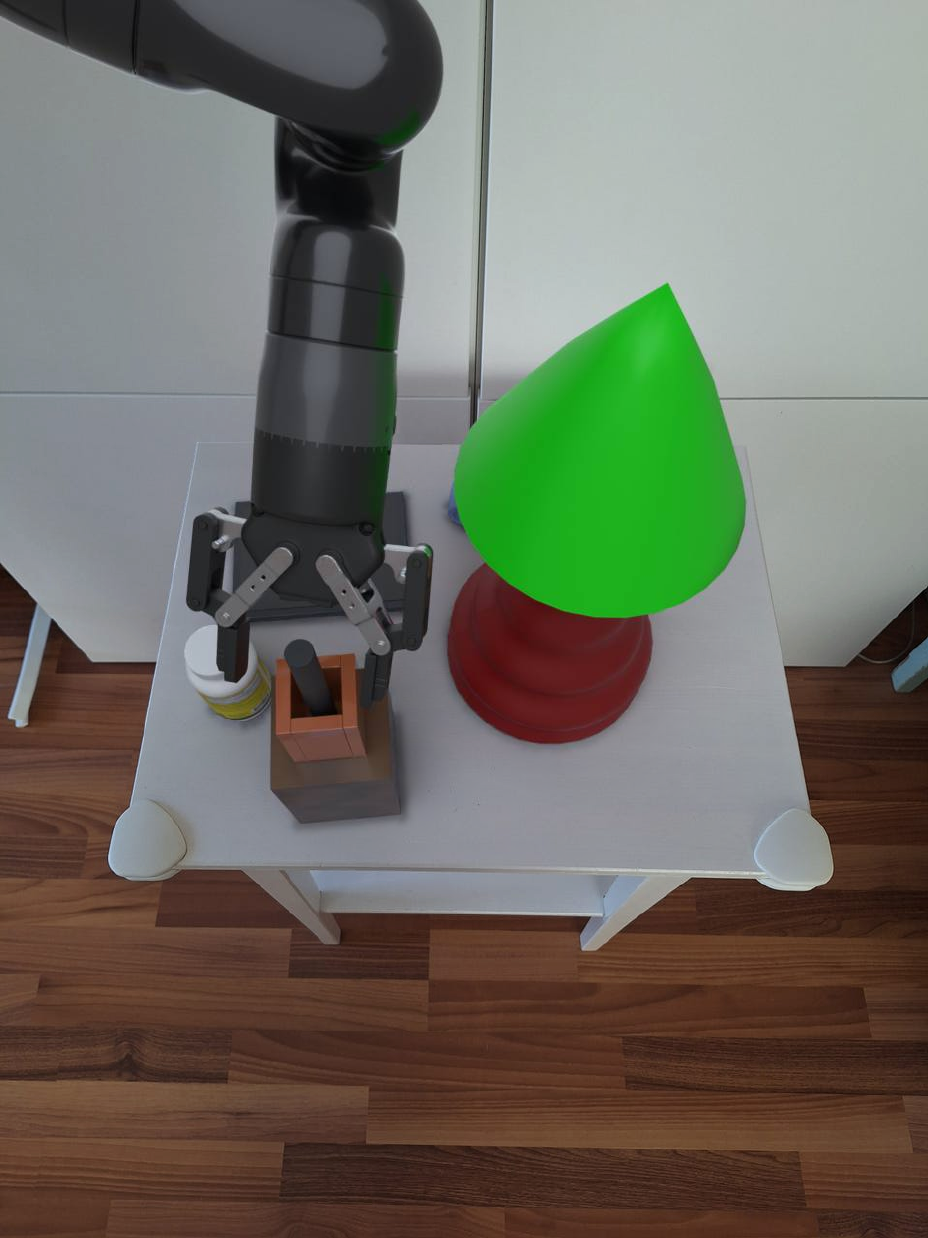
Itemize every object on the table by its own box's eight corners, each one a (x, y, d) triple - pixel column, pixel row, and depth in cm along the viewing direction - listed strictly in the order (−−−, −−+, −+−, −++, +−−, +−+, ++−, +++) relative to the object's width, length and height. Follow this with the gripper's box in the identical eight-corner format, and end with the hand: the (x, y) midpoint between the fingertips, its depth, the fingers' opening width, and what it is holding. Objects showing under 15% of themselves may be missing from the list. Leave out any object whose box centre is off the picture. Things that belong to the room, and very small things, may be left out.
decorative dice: (454, 493, 85) (455, 471, 81) (490, 499, 84) (492, 478, 81) (447, 523, 83) (447, 502, 79) (483, 529, 83) (485, 509, 79)
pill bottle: (213, 663, 75) (179, 615, 65) (277, 663, 75) (253, 615, 65) (205, 724, 73) (168, 683, 63) (271, 724, 73) (245, 683, 63)
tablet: (233, 623, 77) (231, 619, 76) (237, 506, 83) (235, 501, 82) (412, 610, 78) (411, 605, 77) (403, 496, 84) (403, 490, 83)
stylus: (317, 736, 58) (283, 667, 45) (317, 713, 58) (283, 639, 46) (341, 734, 58) (314, 665, 45) (340, 711, 58) (314, 637, 46)
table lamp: (439, 569, 80) (443, 152, 40) (624, 558, 82) (810, 142, 41) (455, 753, 72) (480, 464, 31) (660, 737, 74) (940, 439, 33)
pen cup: (294, 763, 57) (275, 734, 50) (294, 695, 59) (275, 658, 53) (367, 757, 58) (357, 727, 51) (363, 689, 60) (354, 652, 53)
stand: (300, 824, 69) (269, 789, 56) (299, 728, 73) (270, 675, 60) (400, 814, 70) (392, 778, 57) (394, 720, 73) (385, 666, 61)
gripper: (169, 411, 39) (164, 695, 45) (442, 457, 38) (403, 740, 44) (227, 402, 46) (216, 648, 52) (458, 441, 46) (423, 686, 51)
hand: (302, 690), depth 48 cm, fingers open, 8 cm apart
